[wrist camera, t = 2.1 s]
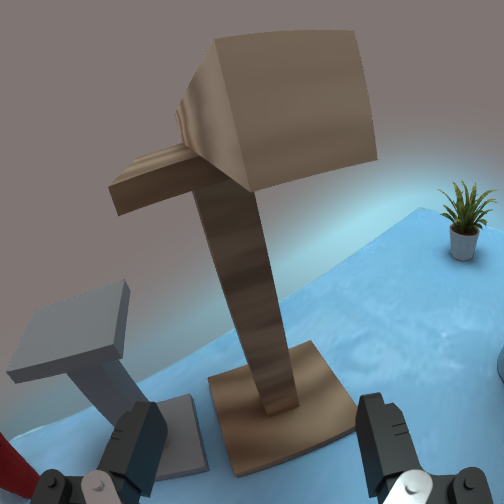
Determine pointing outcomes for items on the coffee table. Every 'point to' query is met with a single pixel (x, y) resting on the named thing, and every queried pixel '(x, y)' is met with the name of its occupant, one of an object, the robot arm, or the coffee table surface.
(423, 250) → the coffee table surface
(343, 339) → the coffee table surface
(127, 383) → the charcoal stand
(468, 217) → the house plant
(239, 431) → the walnut stand
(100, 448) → the coffee table surface
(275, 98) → the birch block
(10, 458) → the plastic cup
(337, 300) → the coffee table surface
